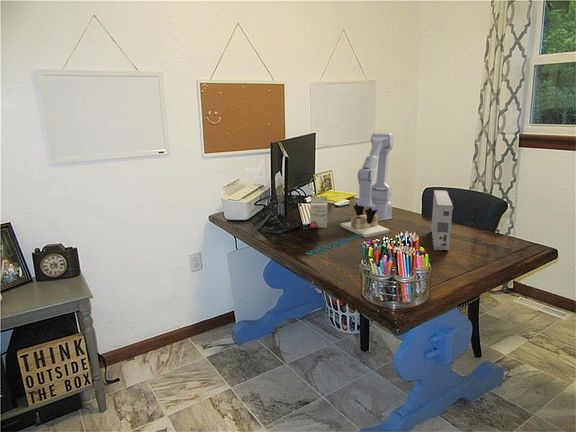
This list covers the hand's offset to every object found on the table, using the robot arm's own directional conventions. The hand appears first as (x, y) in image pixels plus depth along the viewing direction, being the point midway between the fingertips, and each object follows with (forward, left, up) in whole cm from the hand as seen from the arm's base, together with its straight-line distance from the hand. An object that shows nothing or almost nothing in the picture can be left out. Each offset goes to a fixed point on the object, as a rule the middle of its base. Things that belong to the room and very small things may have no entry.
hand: (364, 221), depth 201 cm
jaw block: (0, 0, -2) cm, 2 cm away
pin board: (0, 0, -4) cm, 4 cm away
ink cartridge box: (+16, -16, -4) cm, 23 cm away
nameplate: (+23, +11, -4) cm, 26 cm away
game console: (-17, +31, -4) cm, 36 cm away
